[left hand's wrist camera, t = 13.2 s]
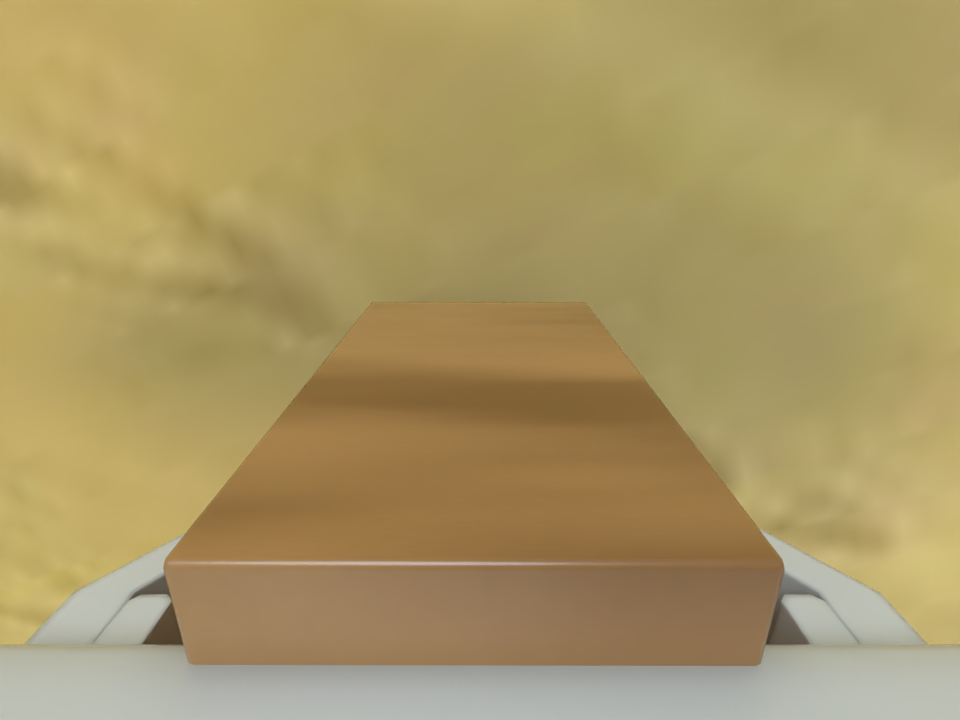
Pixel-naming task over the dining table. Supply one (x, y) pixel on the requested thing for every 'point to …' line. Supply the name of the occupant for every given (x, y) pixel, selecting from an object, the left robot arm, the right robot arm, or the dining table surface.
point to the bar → (475, 511)
